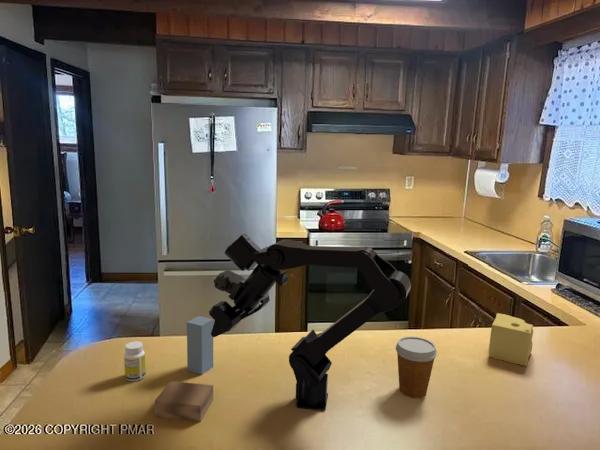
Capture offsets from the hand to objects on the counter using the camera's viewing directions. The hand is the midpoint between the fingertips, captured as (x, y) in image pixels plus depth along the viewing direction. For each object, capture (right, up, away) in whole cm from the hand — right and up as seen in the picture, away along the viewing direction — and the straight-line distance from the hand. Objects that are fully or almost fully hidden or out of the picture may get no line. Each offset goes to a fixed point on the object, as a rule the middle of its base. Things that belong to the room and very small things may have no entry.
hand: (223, 328), depth 108 cm
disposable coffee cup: (+45, -15, -1) cm, 48 cm away
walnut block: (-7, -15, -10) cm, 20 cm away
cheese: (+78, -12, +19) cm, 81 cm away
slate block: (-7, -12, +7) cm, 15 cm away
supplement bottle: (-22, -13, +2) cm, 25 cm away
